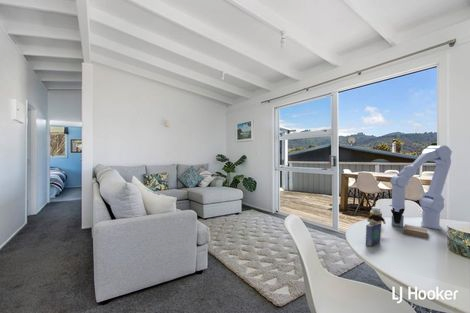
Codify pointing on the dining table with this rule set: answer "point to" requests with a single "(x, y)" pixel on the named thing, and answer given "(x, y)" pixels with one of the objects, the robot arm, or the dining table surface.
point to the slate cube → (399, 223)
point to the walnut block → (415, 231)
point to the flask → (373, 233)
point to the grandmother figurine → (376, 216)
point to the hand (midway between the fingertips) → (397, 222)
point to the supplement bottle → (373, 213)
